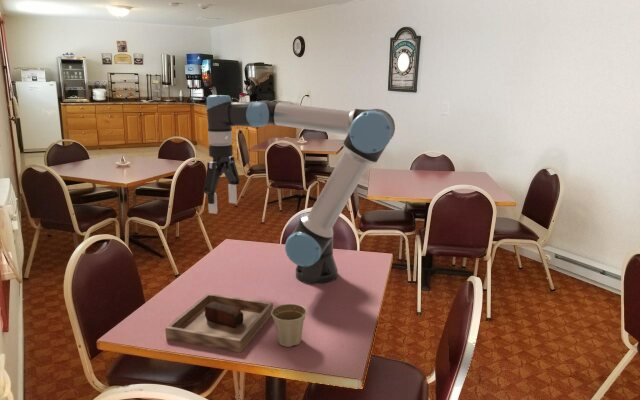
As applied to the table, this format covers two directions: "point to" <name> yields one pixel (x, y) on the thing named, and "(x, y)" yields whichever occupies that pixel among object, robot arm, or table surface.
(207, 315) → the brick
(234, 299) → the tray
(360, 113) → the robot arm
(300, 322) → the flower pot
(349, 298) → the table surface
